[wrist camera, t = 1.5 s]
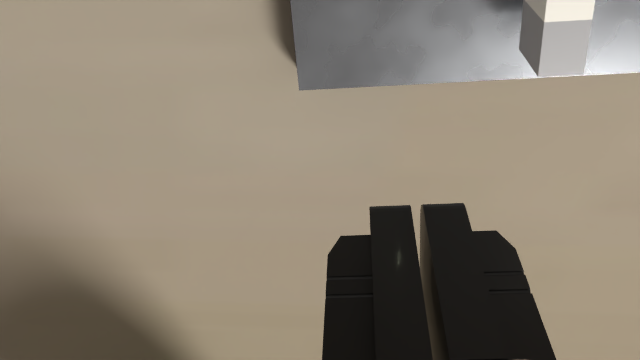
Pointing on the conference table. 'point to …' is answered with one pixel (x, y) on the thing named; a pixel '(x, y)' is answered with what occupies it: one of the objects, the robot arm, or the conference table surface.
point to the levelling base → (440, 41)
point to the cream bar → (556, 35)
